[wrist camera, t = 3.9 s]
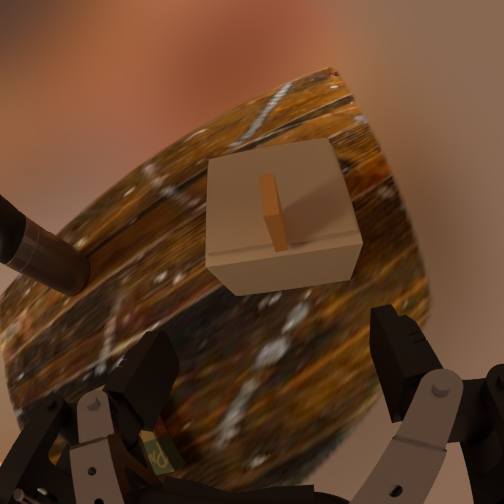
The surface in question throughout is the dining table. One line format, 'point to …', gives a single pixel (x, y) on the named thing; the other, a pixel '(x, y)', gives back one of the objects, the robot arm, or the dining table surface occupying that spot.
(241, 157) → the tan box lid
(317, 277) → the cardboard box
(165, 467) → the carton
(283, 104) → the dining table surface
